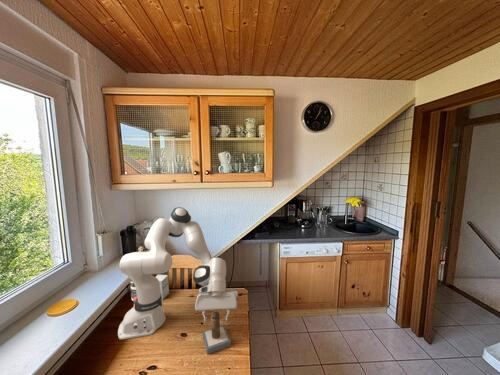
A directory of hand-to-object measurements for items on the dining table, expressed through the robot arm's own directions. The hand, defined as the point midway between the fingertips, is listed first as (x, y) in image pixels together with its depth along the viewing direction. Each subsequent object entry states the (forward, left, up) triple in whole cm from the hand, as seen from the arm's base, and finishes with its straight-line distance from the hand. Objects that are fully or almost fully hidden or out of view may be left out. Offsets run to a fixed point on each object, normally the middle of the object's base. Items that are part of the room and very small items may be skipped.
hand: (215, 321), depth 102 cm
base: (0, 0, -10) cm, 10 cm away
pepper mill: (0, 0, -8) cm, 8 cm away
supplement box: (-24, +48, -11) cm, 55 cm away
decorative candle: (-37, +53, -11) cm, 66 cm away
